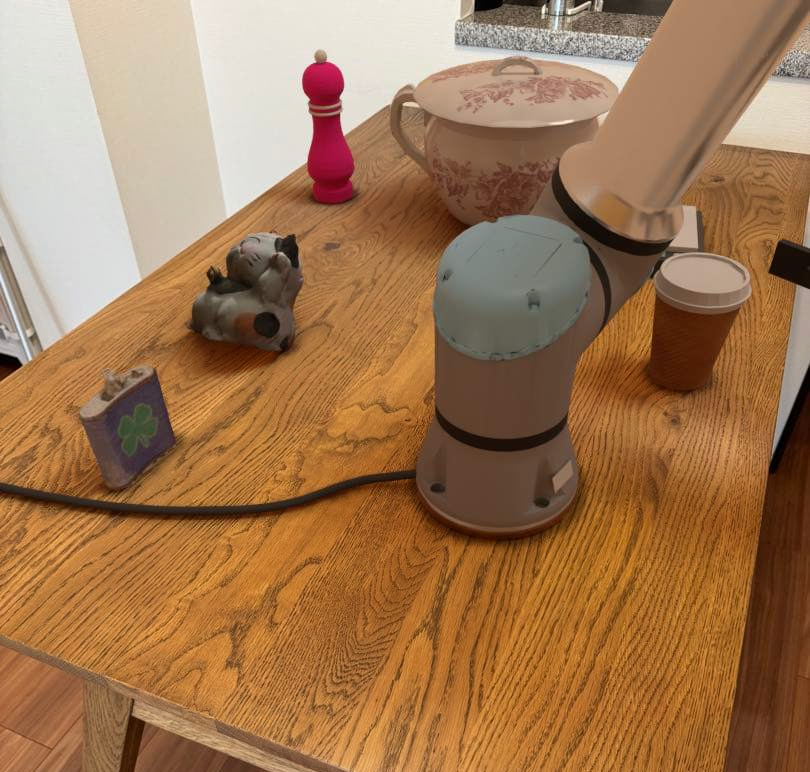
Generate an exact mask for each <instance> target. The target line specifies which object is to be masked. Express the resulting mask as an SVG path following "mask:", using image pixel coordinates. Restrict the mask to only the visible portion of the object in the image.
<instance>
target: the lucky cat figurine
mask: <svg viewBox="0 0 810 772" xmlns="http://www.w3.org/2000/svg"><path fill="white" fill-rule="evenodd" d="M299 250H300V247H299V245H298V244H297V235H296V233H290V234H287V235H286V236H285V237H282V236H281V235H279V233H278V231H277V230H276V229H272V230H270V231H269V232H267V231H265V232H258V233H248V234H247V235H246V236H245V238H243V239H242V240H240V241H238V242H236V243H235V244H233V246H232V247H230V249H229V251H228V253H227V254H226V257H225V266H226V276H224V275H223V273H222V271H221V269H220V268H219V267H218V266H214V265H210V266H209V267H208V269H207V271H206V273H205V275H206V277H207V279H208V280H209V281H208V282H209V284H208V286H207V287H206V289H205V290H204V291H202V292H200V293H198V294H197V296H196V297H195V299H194V301H193V303H192V307H191V321H189V322H188V323H187V324H186V329H188V330H190V331H194V332H195V333H197V334H198V335H199V337H201V338H203V339H208V340H209V341H214V342H219V343H224V344H232V345H240V346H246V347H251V348H254V349H257V350H261V351H265V352H266V351H267V352H269V351H270V352H281V351H282V350H283V351H287V350H290V349H291V347H292V345H293V344H294V342H295V338H296V317H295V314H294V306H295V304H296V303H295V302H296V300H297V297H298V295H299V293H300V292H301V290H302V288H303V286H304V281H305V277H304V275H303V274H302V273H303V263H302V262H301V259H300V255H299V254H300V253H299Z"/></svg>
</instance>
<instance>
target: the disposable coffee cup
mask: <svg viewBox="0 0 810 772" xmlns="http://www.w3.org/2000/svg"><path fill="white" fill-rule="evenodd" d="M652 279H653V281H652V283H653V287H654V292H655V297H654V309H653V319H652V331H651V332H652V333H651V342H650V355H649V366H648V374H649V376H650V377H651V379H652V380H653V381H654V382H655V383H657V384H658V385H660V386H662V387H665V388H668V389H671V390H676V391H691V390H696V389H699V388H701V387H702V386H704V385H705V384H707V381H708V380H709V377H710V375H711V373H712V371H713V369H714V366H715V364H716V362H717V360H718V357H719V356H720V353H721V351H722V349H723V346H724V345H725V343H726V340H727V339H728V336H729V334H730V332H731V329H732V328H733V325H734V323H735V321H736V319H737V316H738V314H739V312H740V310H741V307H742V306H743V305H744V304H745V303H746V302H747V300H749V299H750V297H751V294H752V292H753V290H752V289H753V288H752V285H751V274H750V272H749V270H748V268H746V267H745V266H744V265H743V264H741V262H738V261H736V260H735V259H733V258H731V257H727V256H724V255H721V254H716V253H709V252H704V253H699V252H694V253H683V254H678V255H675V256H672V257H670V258H668V259H666V260H665V261H664V262H663V264H662V265H661V268H660V270H658V271H657V273H656V274H655V276H654V277H653V278H652Z"/></svg>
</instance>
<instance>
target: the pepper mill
mask: <svg viewBox="0 0 810 772" xmlns="http://www.w3.org/2000/svg"><path fill="white" fill-rule="evenodd" d="M313 58H314V61H315V62H313V63H311V64H309V65H307V67H306V68H305V69H304V71H303V73H302V78H301V87H302V91H303V94H305V96H306V97H307V98H308V101H307V105H308V111H307V112H308V113H309V115H311V118H312V138H311V144H310V146H309V150H308V154H307V161H306V168H307V174H308V176H309V177H310V178H311V179H312V181H314V182H313V184H312V194H313V195H312V196H313V198H314V200H315V201H316V202H320V203H322V204H340V203H344V202H346V201H348V200H350V199H351V198H353V196H354V183H353V182H352V181H351V180H350V179H351V178H352V176H353V174H354V172H355V169H356V167H355V159H354V157H353V154H352V150H351V148H350V147H349V144H348V143H347V140H346V138H345V135H344V132H343V127H342V122H341V121H342V120H341V113H342V112H343V110H344V107H343V105H342V104H343V100H342V99H341V96H342V94H343V93H344V90H345V78H344V74H343V73H342V70H341V69H340V67H339V66H337V65H336V64H335V63H333V62H330V61H328V54H327V52H326V51H325V50H324V49H321V48H319V49H317V50H316V51H315V52H314V57H313Z"/></svg>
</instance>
